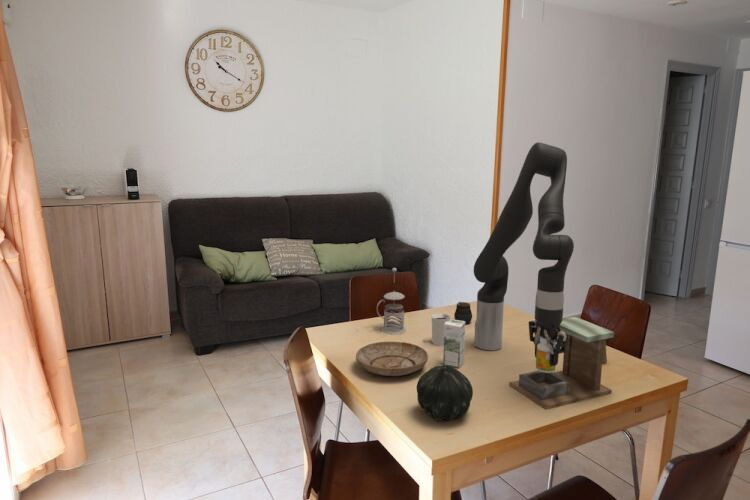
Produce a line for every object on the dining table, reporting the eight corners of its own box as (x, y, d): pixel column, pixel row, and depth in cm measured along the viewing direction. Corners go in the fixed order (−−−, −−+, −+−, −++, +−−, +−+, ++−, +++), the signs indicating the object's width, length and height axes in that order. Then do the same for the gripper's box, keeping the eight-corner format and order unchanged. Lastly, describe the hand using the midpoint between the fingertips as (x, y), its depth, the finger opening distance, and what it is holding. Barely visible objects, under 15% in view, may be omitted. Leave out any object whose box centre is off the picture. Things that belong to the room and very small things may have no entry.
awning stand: (546, 409, 142) (550, 345, 139) (509, 385, 157) (512, 326, 153) (611, 393, 152) (617, 332, 148) (570, 371, 166) (575, 316, 163)
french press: (407, 334, 199) (407, 270, 195) (376, 334, 200) (376, 270, 195) (406, 326, 209) (406, 265, 204) (376, 325, 209) (376, 264, 204)
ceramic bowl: (442, 367, 170) (443, 353, 169) (392, 391, 154) (392, 375, 153) (391, 348, 186) (391, 335, 185) (341, 367, 170) (340, 353, 169)
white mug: (451, 341, 193) (452, 315, 191) (445, 347, 187) (446, 320, 185) (434, 338, 196) (435, 312, 194) (428, 344, 190) (428, 317, 188)
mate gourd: (473, 321, 215) (474, 297, 213) (469, 326, 208) (470, 302, 206) (456, 318, 218) (457, 295, 216) (451, 324, 211) (452, 300, 209)
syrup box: (464, 362, 174) (465, 320, 171) (459, 368, 169) (460, 325, 166) (447, 359, 176) (449, 318, 174) (442, 365, 171) (443, 323, 168)
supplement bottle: (532, 365, 153) (534, 334, 151) (550, 365, 154) (552, 333, 152) (539, 373, 148) (541, 341, 146) (558, 372, 148) (560, 340, 146)
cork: (608, 365, 171) (611, 333, 169) (589, 363, 172) (591, 331, 170) (604, 357, 177) (607, 327, 175) (585, 356, 178) (588, 325, 176)
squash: (446, 374, 152) (425, 347, 143) (489, 393, 141) (470, 365, 132) (420, 416, 147) (397, 391, 138) (463, 439, 136) (440, 414, 127)
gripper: (578, 310, 142) (574, 368, 145) (542, 296, 155) (539, 350, 158) (557, 313, 139) (553, 373, 142) (521, 299, 152) (518, 354, 155)
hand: (545, 361), depth 150 cm, fingers closed on supplement bottle, 5 cm apart
